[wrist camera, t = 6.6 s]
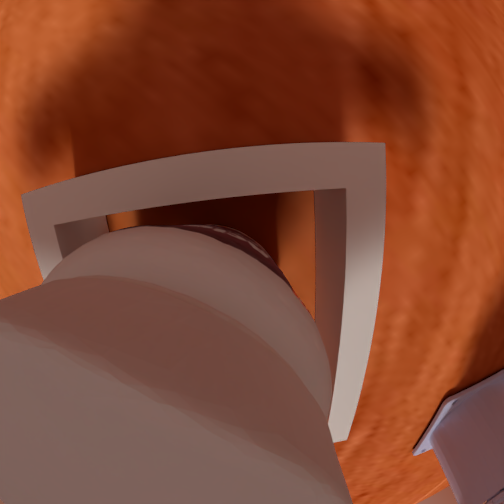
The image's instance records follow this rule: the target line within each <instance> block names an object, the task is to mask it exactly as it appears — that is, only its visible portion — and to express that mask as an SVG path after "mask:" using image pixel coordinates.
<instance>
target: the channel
mask: <svg viewBox="0 0 504 504" xmlns="http://www.w3.org/2000/svg"><path fill="white" fill-rule="evenodd" d="M307 190H314V205H315V240H316V305H315V323H316V325H317V328H318V330H319V333H320V335H321V338H322V341H323V343H324V346H325V349H326V353H327V356H328V360H329V364H330V370H331V379H332V398H331V404H330V410H329V415H328V419H327V423H328V426H329V429H330V432H331V436H332V440H333V443H334V442H339V441H343V440H347V438H348V435H349V432H350V428H351V425H352V422H353V418H354V415H355V411H356V408H357V404H358V400H359V396H360V392H361V388H362V384H363V380H364V376H365V371H366V367H367V362H368V357H369V352H370V347H371V342H372V336H373V331H374V325H375V319H376V312H377V305H378V298H379V290H380V282H381V272H382V262H383V250H384V235H385V215H386V154H385V143H372V142H312V143H290V144H274V145H260V146H249V147H239V148H229V149H221V150H213V151H205V152H198V153H191V154H184V155H178V156H172V157H166V158H160V159H155V160H150V161H144V162H139V163H134V164H130V165H125V166H120V167H116V168H112V169H107V170H103V171H99V172H95V173H91V174H87V175H83V176H80V177H76V178H72V179H69V180H65V181H62V182H59V183H55V184H52V185H49V186H46V187H43V188H39V189H36V190H33V191H30V192H28V193H25V194H22V195H21V197H22V202H23V207H24V212H25V216H26V221H27V225H28V229H29V233H30V237H31V241H32V244H33V248H34V251H35V255H36V258H37V261H38V264H39V267H40V270H41V273H42V276H43V279H44V280H45V278H46V277H47V276H48V274H49V273H50V272H51V271H52V270H53V269H54V268H55V266H56V265H57V264H59V263H60V262H61V261H62V260H63V259H64V258H65V257H66V256H68V255H69V254H71V253H72V252H73V251H75V250H76V249H78V248H79V247H81V246H82V245H84V244H86V243H88V242H90V241H92V240H94V239H96V238H97V237H99V236H101V235H103V234H105V233H109V229H108V225H107V220H106V216H105V215H109V214H115V213H121V212H127V211H133V210H139V209H145V208H152V207H159V206H165V205H172V204H180V203H187V202H195V201H203V200H211V199H220V198H229V197H238V196H248V195H258V194H269V193H281V192H293V191H307Z"/></svg>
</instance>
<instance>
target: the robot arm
mask: <svg viewBox="0 0 504 504" xmlns="http://www.w3.org/2000/svg"><path fill="white" fill-rule="evenodd" d="M432 448H433V450H434V452H435V454H436V456H437V458H438V461H439V463H440V465H441V467H442V469H443V471H444V473H445V475H446V478H447V480H448V482H449V484H450V487H451V489H452V491H453V493H454V496H455V498H456V500H457V503H458V504H482V503H483V502H485V501H486V500H487V502H486V503H485V504H504V369H503V370H501V371H500V372H498V373H496V374H494V375H493V376H491V377H489V378H487V379H485V380H483V381H481V382H480V383H478V384H476V385H474V386H472V387H470V388H468V389H465V390H463V391H461V392H459V393H457V394H455V395H453V396H450V397H448V398H447V399H446V400H445V401H444V402H443V403H442V405H441V407H440V409H439V410H438V412H437V414H436V416H435V417H434V419H433V421H432V422H431V424H430V426H429V427H428V429H427V430H426V432H425V434H424V435H423V437H422V438H421V440H420V441H419V443H418V444H417V446H416V447H415V449H414V450H413V452H412V453H413V455H414V456H415V455H418V454H421V453H423V452H425V451H428V450H430V449H432Z"/></svg>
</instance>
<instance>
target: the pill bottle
mask: <svg viewBox="0 0 504 504" xmlns="http://www.w3.org/2000/svg"><path fill="white" fill-rule="evenodd" d="M331 398H332V379H331V370H330V364H329V360H328V356H327V353H326V349H325V346H324V343H323V341H322V338H321V335H320V333H319V330H318V328H317V325H316V323H315V322H314V320H313V318H312V316H311V314H310V313H309V311H308V310H307V309H306V307H305V305H304V304H303V302H302V301H301V300H300V298H299V297H298V296H297V294H296V293H295V291H294V290H293V288H292V287H291V285H290V283H289V282H288V280H287V279H286V277H285V276H284V274H283V272H282V271H281V270H280V269H279V267H278V266H277V265H276V263H275V262H274V260H273V259H272V258H271V257H270V255H269V254H268V253H267V251H266V250H265V249H264V248H263V247H262V246H261V245H260V244H259V243H257V242H256V241H255V240H254V239H252V238H251V237H249V236H247V235H246V234H244V233H242V232H240V231H238V230H236V229H233V228H230V227H226V226H221V225H213V224H194V225H144V226H134V227H128V228H124V229H120V230H117V231H113V232H110V233H105V234H103V235H101V236H99V237H97V238H96V239H94V240H92V241H90V242H88V243H86V244H84V245H82V246H81V247H79V248H78V249H76V250H75V251H73V252H72V253H71V254H69V255H68V256H66V257H65V258H64V259H63V260H62V261H61V262H60V263H59V264H57V265H56V266H55V268H54V269H53V270H52V271H51V272H50V273H49V274H48V276H47V277H46V278H45V280H44V281H43V283H42V284H41V285H39V286H36V287H34V288H31V289H28V290H25V291H23V292H20V293H17V294H14V295H12V296H9V297H6V298H4V299H1V300H0V499H1V500H2V501H3V502H4V503H5V504H353V503H352V500H351V497H350V494H349V491H348V488H347V485H346V482H345V479H344V476H343V473H342V470H341V467H340V464H339V461H338V458H337V455H336V452H335V448H334V444H333V440H332V436H331V432H330V429H329V426H328V423H327V419H328V415H329V410H330V404H331Z"/></svg>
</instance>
